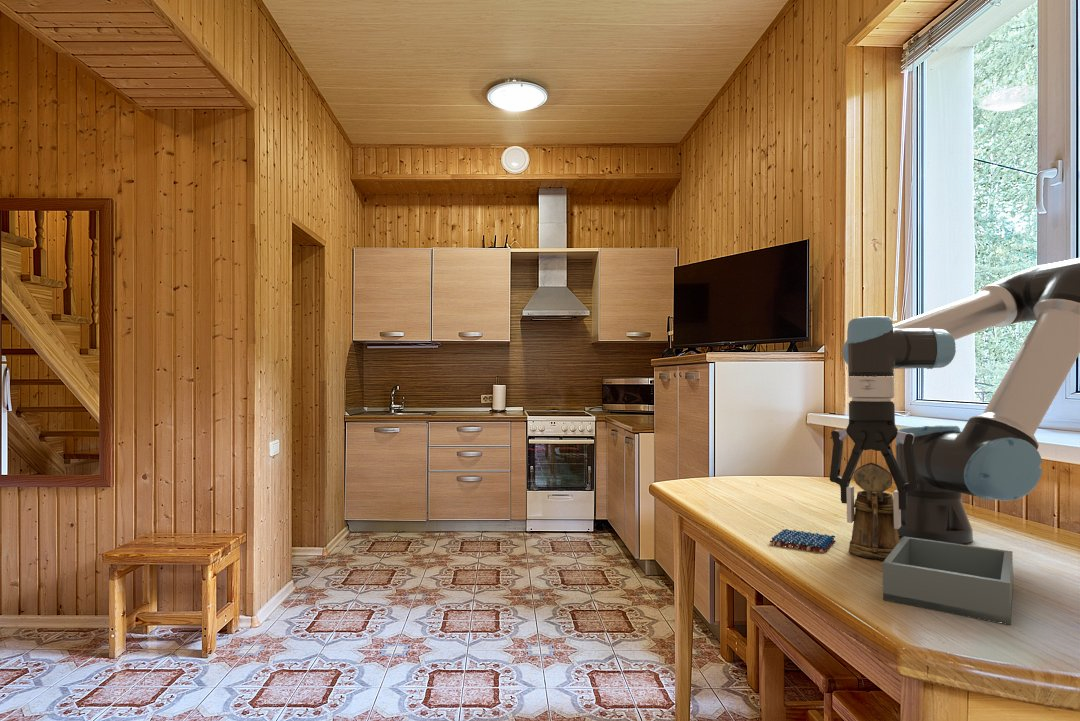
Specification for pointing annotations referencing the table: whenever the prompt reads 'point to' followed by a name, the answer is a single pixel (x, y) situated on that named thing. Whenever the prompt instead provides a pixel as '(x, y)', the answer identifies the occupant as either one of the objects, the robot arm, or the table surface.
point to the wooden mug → (873, 514)
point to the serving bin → (950, 578)
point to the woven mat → (803, 540)
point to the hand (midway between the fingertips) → (873, 524)
